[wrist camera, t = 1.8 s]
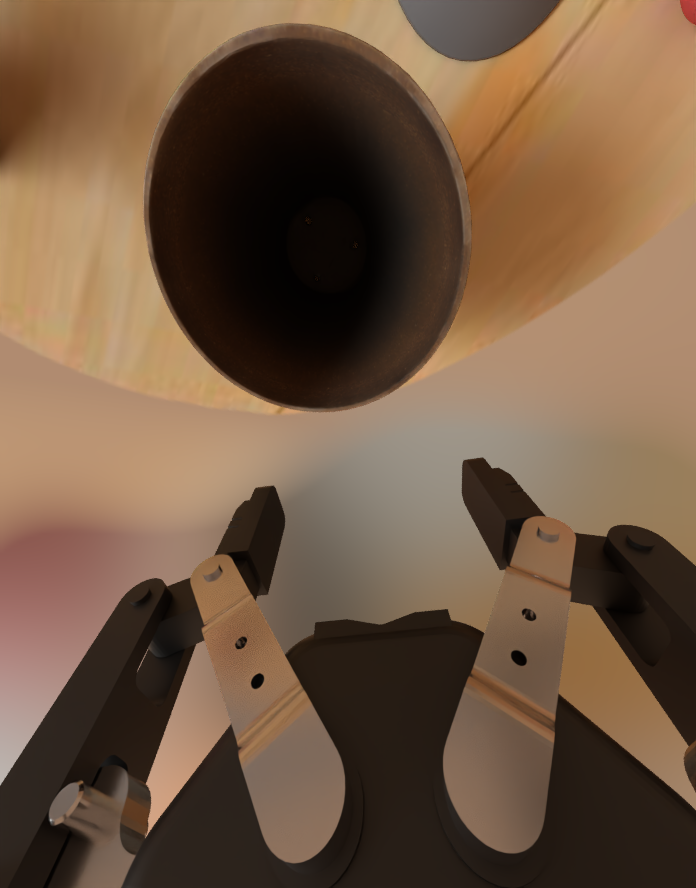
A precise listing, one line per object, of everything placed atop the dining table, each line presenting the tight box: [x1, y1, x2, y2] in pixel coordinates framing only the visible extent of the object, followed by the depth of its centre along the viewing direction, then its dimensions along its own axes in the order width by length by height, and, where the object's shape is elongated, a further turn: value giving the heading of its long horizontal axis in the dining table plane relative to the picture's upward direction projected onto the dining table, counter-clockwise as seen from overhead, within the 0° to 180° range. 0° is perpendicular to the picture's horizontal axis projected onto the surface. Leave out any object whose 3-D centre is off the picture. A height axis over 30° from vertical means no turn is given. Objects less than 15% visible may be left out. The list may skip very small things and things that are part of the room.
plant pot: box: [143, 23, 472, 412], centre depth 21 cm, size 15×15×16 cm
